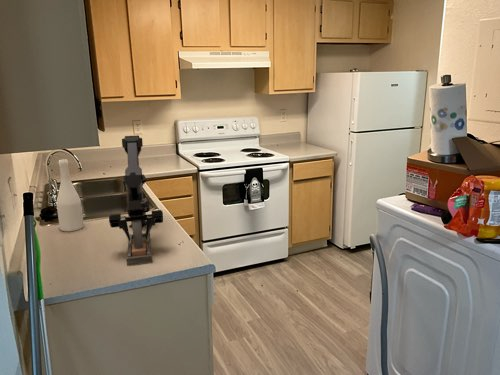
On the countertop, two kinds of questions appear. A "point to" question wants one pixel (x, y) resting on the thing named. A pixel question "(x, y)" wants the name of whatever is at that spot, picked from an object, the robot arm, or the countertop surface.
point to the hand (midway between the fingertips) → (138, 239)
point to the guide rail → (139, 259)
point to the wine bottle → (68, 202)
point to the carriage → (138, 239)
